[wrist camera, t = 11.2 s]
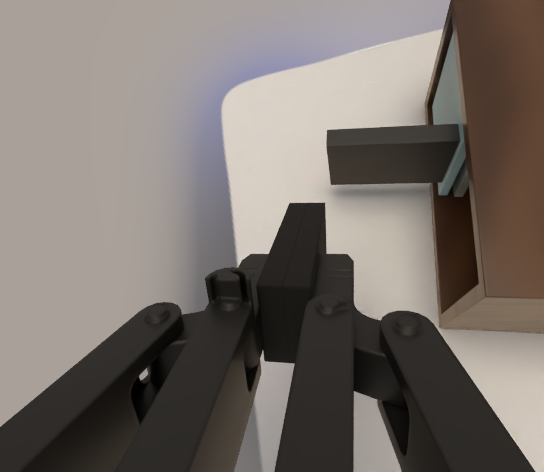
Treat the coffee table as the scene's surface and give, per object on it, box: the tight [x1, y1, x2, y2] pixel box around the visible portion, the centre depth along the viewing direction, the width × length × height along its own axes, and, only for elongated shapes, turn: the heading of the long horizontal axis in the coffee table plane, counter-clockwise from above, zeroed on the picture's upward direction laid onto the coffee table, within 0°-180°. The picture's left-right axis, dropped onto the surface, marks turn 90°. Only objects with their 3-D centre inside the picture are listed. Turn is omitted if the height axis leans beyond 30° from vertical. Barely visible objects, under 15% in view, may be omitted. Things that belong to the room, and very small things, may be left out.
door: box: [327, 34, 466, 195], centre depth 27 cm, size 8×8×8 cm
